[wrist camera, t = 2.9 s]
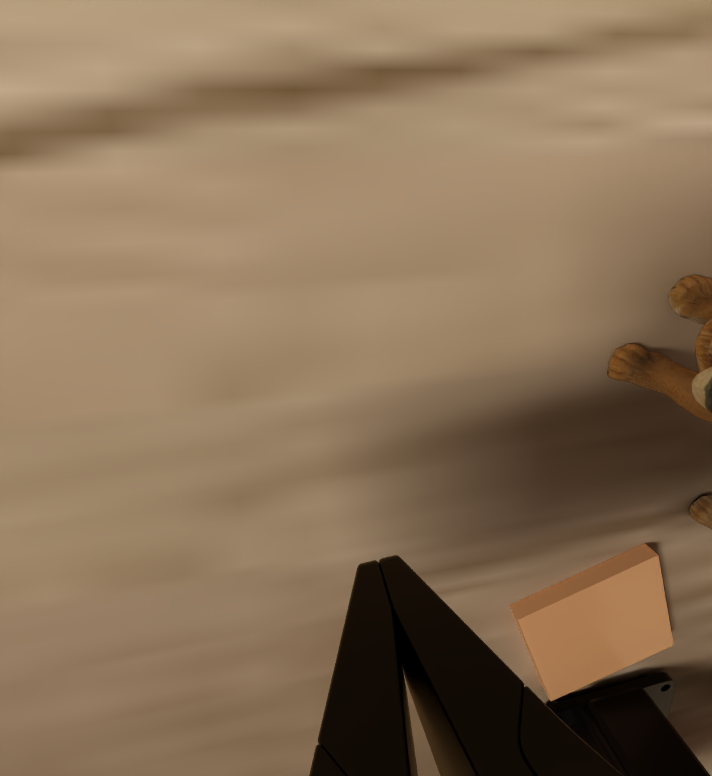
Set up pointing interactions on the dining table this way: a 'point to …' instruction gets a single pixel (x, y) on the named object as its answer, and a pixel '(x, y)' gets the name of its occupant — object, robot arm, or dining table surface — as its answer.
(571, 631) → the terracotta tile
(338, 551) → the dining table surface
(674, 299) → the lion figurine
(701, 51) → the dining table surface
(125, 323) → the dining table surface
